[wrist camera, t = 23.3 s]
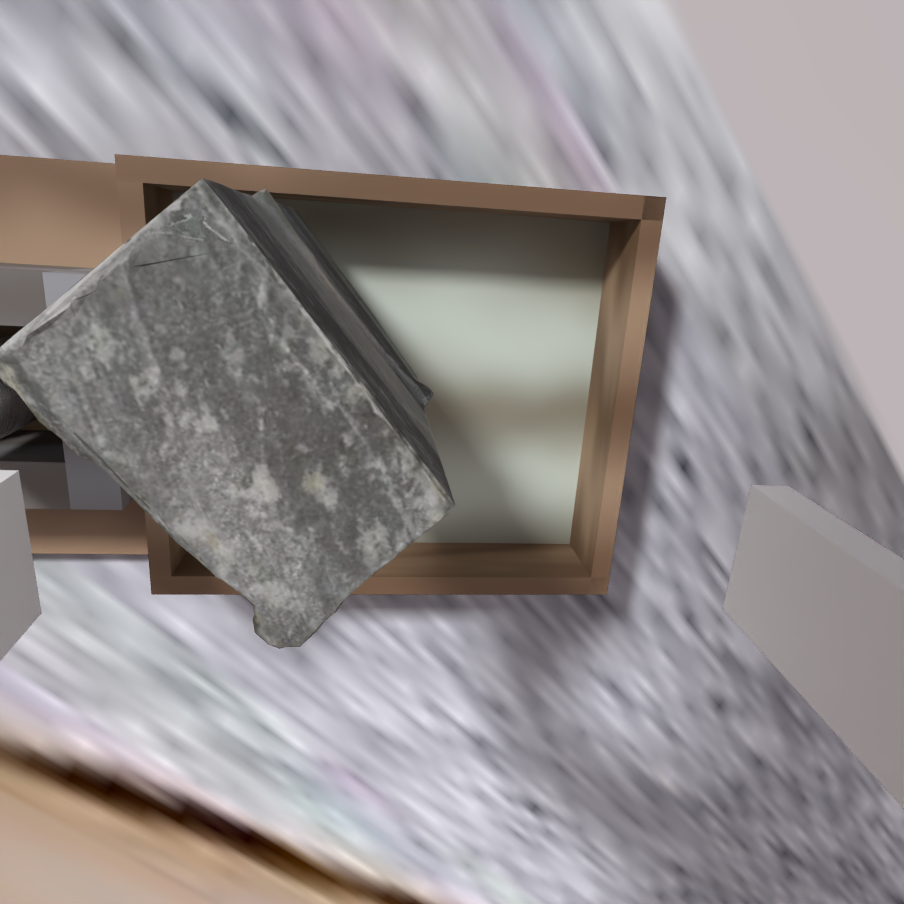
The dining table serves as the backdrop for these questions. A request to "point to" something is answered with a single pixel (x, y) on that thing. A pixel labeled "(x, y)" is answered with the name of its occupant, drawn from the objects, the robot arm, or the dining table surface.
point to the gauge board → (417, 339)
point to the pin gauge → (12, 408)
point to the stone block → (241, 403)
